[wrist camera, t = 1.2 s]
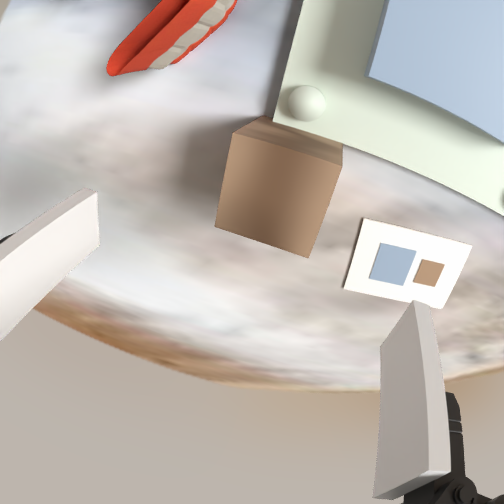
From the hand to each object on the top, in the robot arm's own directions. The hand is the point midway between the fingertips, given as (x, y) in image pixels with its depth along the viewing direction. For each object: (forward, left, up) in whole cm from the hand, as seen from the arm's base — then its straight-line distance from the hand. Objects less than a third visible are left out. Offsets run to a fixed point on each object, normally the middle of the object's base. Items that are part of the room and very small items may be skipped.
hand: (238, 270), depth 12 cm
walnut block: (0, 0, -14) cm, 14 cm away
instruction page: (+12, -5, -14) cm, 19 cm away
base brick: (+9, +14, -13) cm, 21 cm away
